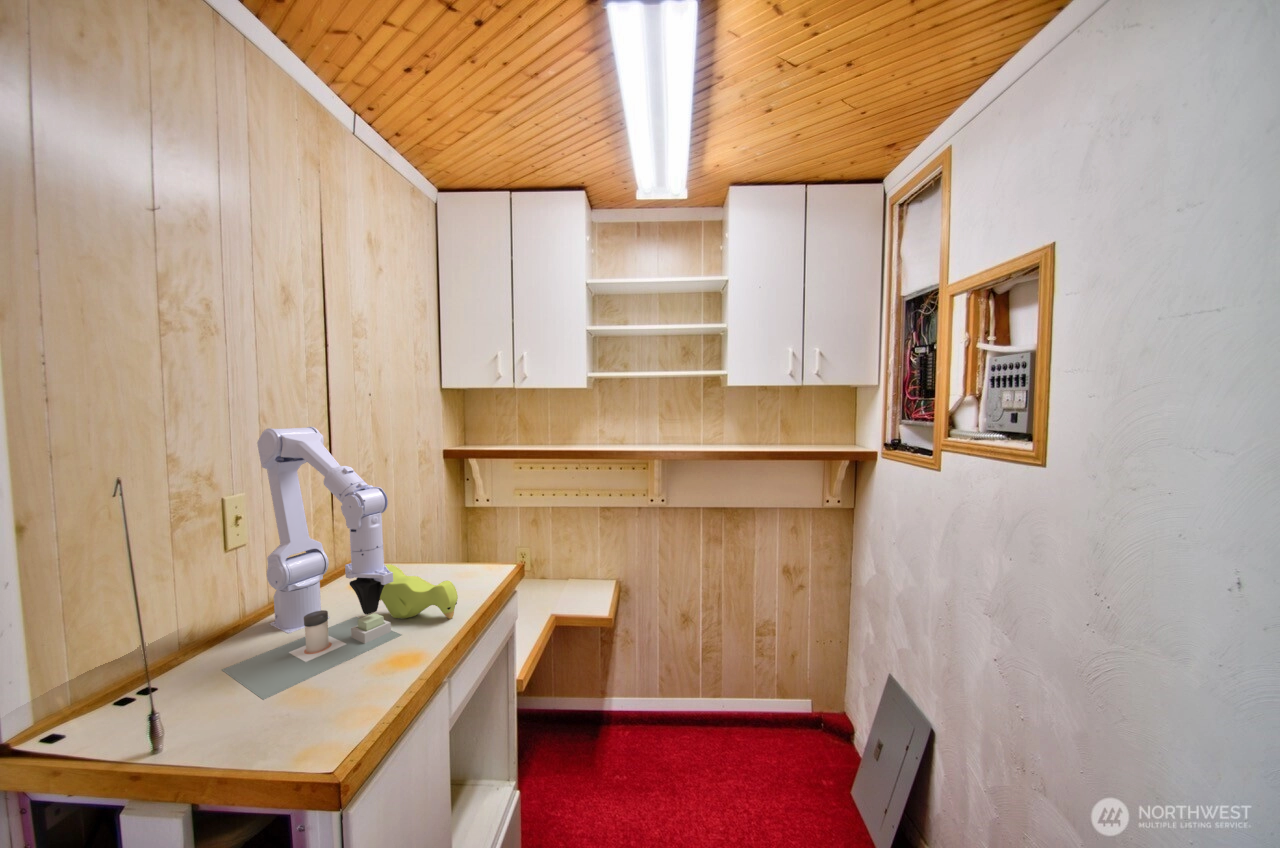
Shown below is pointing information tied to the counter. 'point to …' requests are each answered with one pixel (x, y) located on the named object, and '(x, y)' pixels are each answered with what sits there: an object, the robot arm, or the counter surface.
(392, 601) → the toy
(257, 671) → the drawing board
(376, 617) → the button
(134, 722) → the counter surface
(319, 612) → the jar with dark lid
